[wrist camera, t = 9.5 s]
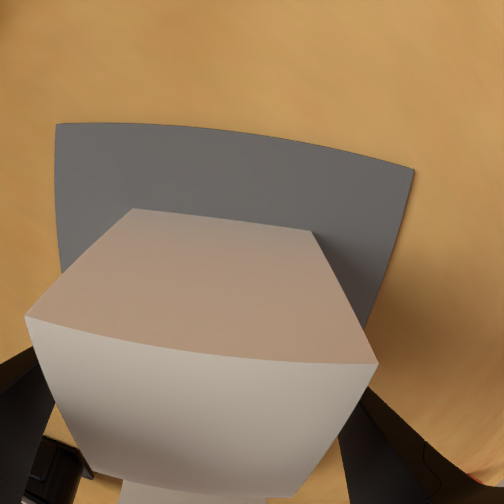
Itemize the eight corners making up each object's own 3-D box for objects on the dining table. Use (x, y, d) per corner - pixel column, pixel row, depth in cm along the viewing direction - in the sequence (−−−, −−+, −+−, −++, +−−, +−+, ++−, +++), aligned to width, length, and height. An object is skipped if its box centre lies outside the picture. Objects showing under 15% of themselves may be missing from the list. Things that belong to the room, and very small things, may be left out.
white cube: (246, 463, 19) (247, 547, 12) (153, 452, 18) (138, 533, 12) (262, 414, 16) (267, 525, 9) (144, 399, 15) (117, 506, 9)
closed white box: (277, 363, 14) (292, 497, 8) (137, 345, 14) (92, 470, 7) (310, 230, 11) (378, 364, 5) (133, 208, 11) (23, 315, 5)
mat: (285, 476, 20) (285, 479, 20) (115, 456, 19) (114, 459, 19) (410, 168, 11) (414, 169, 10) (59, 123, 10) (55, 124, 9)
